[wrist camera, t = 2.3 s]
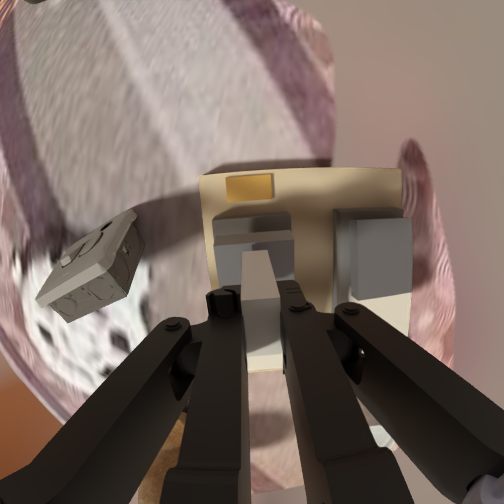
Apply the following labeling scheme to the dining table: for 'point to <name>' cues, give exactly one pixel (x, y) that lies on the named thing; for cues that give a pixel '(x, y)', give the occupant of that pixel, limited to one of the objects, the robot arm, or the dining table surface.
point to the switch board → (301, 218)
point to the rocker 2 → (382, 268)
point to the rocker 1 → (231, 269)
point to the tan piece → (162, 465)
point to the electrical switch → (94, 269)
